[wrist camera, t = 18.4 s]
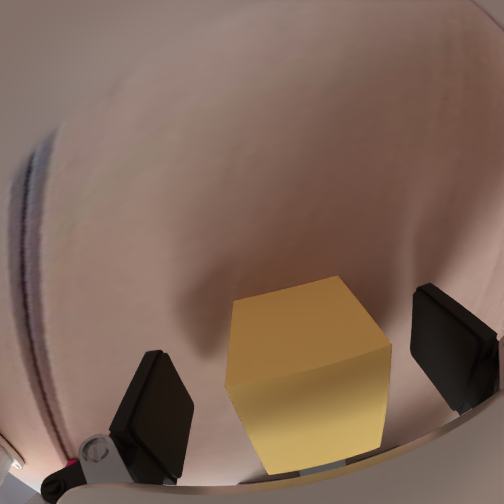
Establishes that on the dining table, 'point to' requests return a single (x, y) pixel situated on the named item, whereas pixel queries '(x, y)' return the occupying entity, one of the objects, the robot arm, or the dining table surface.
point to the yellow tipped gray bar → (308, 376)
